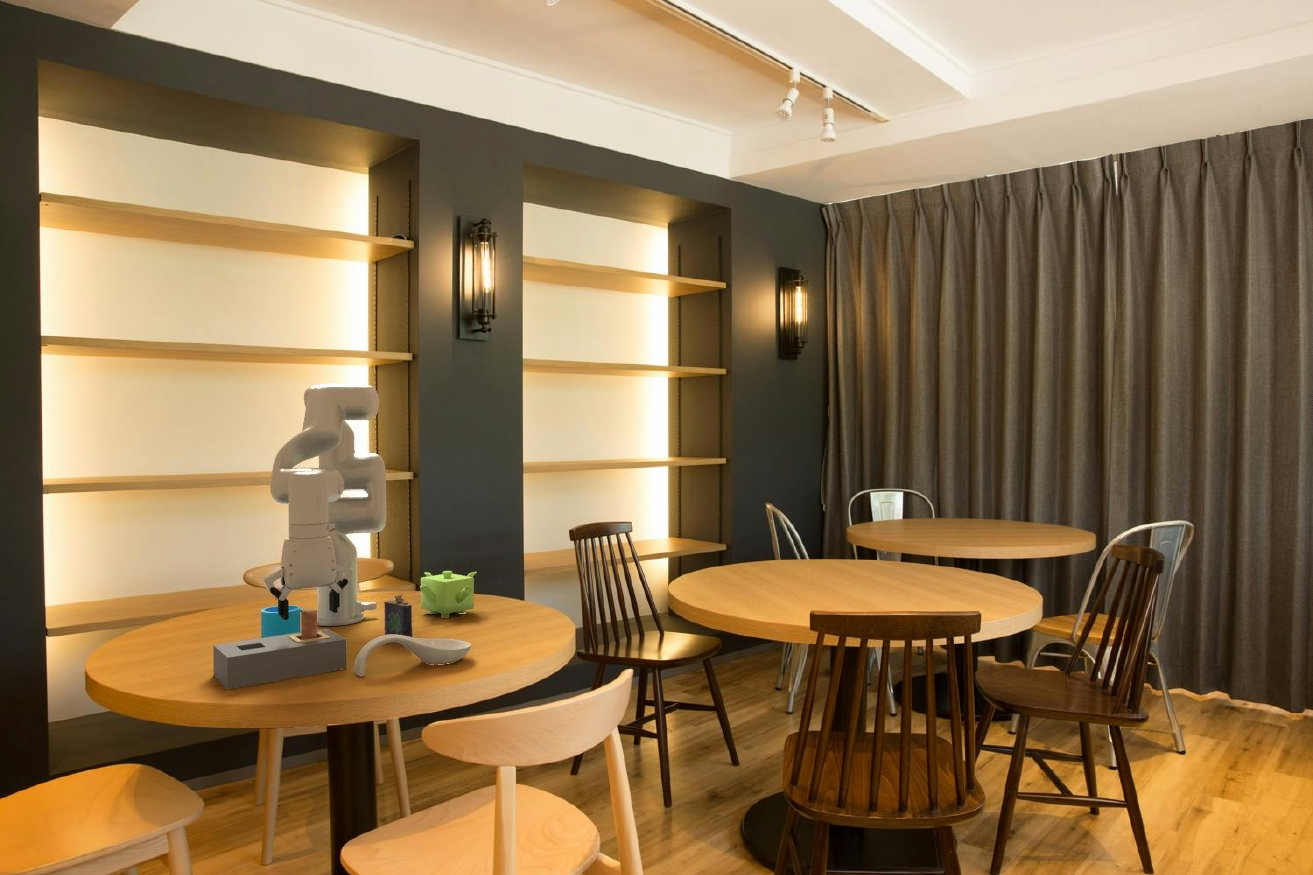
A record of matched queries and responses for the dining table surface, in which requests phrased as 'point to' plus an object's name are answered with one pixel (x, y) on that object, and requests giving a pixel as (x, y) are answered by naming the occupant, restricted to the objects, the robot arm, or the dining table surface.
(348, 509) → the robot arm
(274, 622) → the mug
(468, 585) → the green block with protrusions
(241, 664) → the bore block
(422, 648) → the spoon rest
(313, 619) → the pin
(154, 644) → the dining table surface
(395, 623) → the flask
